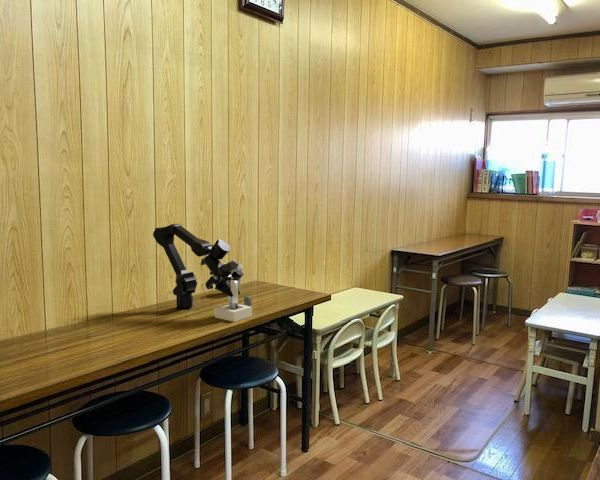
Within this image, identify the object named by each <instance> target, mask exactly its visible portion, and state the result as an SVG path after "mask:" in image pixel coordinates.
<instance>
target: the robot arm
mask: <svg viewBox="0 0 600 480" xmlns="http://www.w3.org/2000/svg"><path fill="white" fill-rule="evenodd" d="M154 230H155V231H154ZM154 230H153V233H152V236H153V238H154V240H155V241H156V243H157V244H158V245H159V246H161V247H162V248H163V250H164V252H165V254H166V257H167V258H168V260H169V263H170V265H171V266H172V269H173V271H174V273H175V283H176V286H174V288H173V289H172V294H173V295H174V296H176V306H175V309H176V310H190V309H191V308H193V306H194V296H193V294H195V293H196V289H197V285H198V282H197V278H196V277H195V274H194V272H193V271H188V270H187V268H186V266H185V264H184V262H183V260H182V257H181V256H180V253H179V252H178V249H177V247H176V244H175V243H174V241H175V236H176V237H177V238H179V240H182V242H184V243H185V244H187V245H188V246H189V247H190V249H191V251H192V253H193V254H194V255H195V256H197V257H203V258H201V262H200V266H204V265H206V267H207V268H208V269H209V271H210V272H209V275H210V277H209V278H208V279H207V281H206V282H205V284H204V285H205V288H206V289H207V290H208V291H209V290H212V289H213V288H214V290H217V291H219V292H221V293H223V294H225V295H226V296H230V297H232V296H233V294H232V292H231V290H230V289H229V287H228V285H227V282H228V281H229V280H239V279H240V278H241V279H242V277H243V276H244V272H243V270H242V271H240V270H238V271H234V272H233V273H232V274H231V272H232V270H234V269H237V267H238V264H239V263H238V261H237V260H236V259H232V260H231V261H230V262H227V263H226V262H225V263H226V264H224V263H222V261H220V260H223V259H224V258H225V257H226V256H227V255H228V253H229V252H230V251H231V246H230V244H229V243H227V242H226V241H224V240H222V239H221V238H220V239H217V240H216V241H215V242H214V244H212V243H211V242H210V241H208V240H205V239H202V238H198V237H197V236H196V235H194V234H193V233H191V232H190V231H189V230H188V229H186V228H185V227H183V226H182V224H180V223H171V224H169V225H167V226H163V227H155V228H154ZM229 274H231V275H230V276H229ZM213 285H214V286H215V287H214V286H213ZM240 294H241V292H240V289H239V288H238V296H240Z"/></svg>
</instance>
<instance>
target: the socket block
mask: <svg viewBox="0 0 600 480" xmlns="http://www.w3.org/2000/svg"><path fill="white" fill-rule="evenodd" d="M251 317H253V306H252V307H251V306H245V305H244V304H239V303H238V309H236V310H231V309H229V303H228V304H225V305H221V306H217V307H214V318H216V319H220V320H225V321H230V322H237V321H241V320H245V319H248V318H251Z"/></svg>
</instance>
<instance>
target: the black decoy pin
mask: <svg viewBox="0 0 600 480" xmlns="http://www.w3.org/2000/svg"><path fill="white" fill-rule="evenodd" d="M252 298H253V297H252V296H251V295H249V296H247V295H246V296H244V297H243V299H244V301H243V305H245V306H251V307H252V308H253V306H252V304H253V303H252V301H253V299H252Z"/></svg>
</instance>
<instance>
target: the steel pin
mask: <svg viewBox="0 0 600 480" xmlns="http://www.w3.org/2000/svg"><path fill="white" fill-rule="evenodd" d="M228 287H229V289H230V290H231V292H232V294H233V296H232V297H230V296H228V295H227V296H228V297H227V298H228V301H227V302H228V304H229V309H231V310H236V309H238V304H239V295H238V280H229V281H228Z"/></svg>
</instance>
